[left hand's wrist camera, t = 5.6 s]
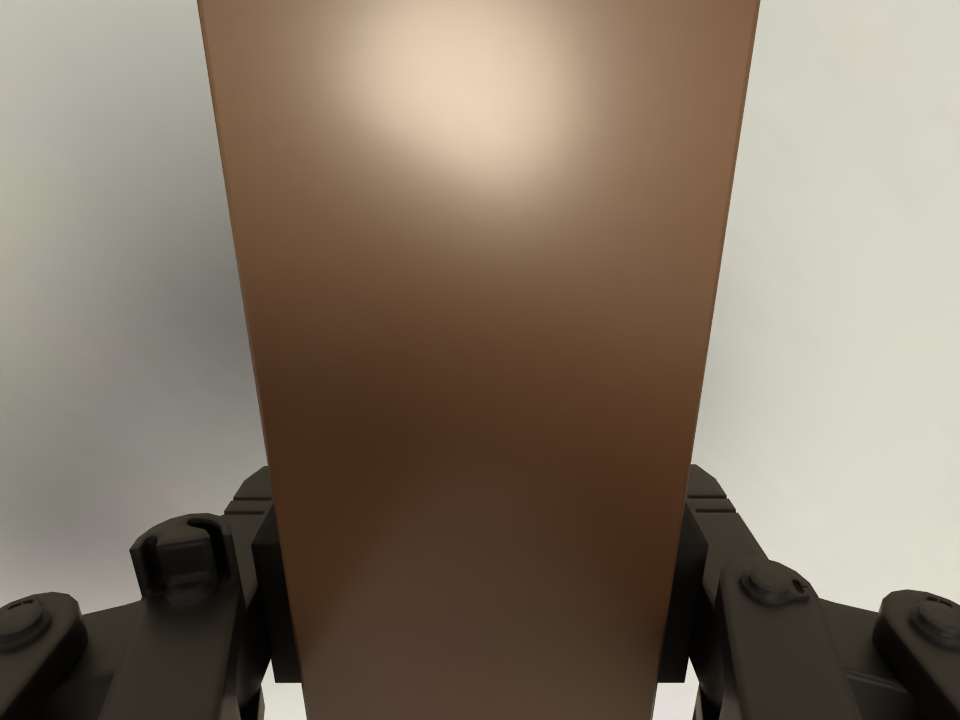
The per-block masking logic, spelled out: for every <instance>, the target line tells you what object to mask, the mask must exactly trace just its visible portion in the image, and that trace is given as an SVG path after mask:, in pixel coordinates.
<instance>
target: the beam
mask: <svg viewBox="0 0 960 720" xmlns="http://www.w3.org/2000/svg"><path fill="white" fill-rule="evenodd" d="M197 4H198V11H199V17H200V24H201V30H202V37H203V43H204V50H205V56H206V63H207V69H208V76H209V83H210V89H211V96H212V102H213V109H214V115H215V122H216V128H217V135H218V141H219V148H220V154H221V161H222V168H223V174H224V181H225V187H226V194H227V200H228V207H229V213H230V220H231V226H232V233H233V239H234V246H235V252H236V259H237V266H238V272H239V279H240V285H241V292H242V298H243V305H244V311H245V318H246V324H247V331H248V337H249V344H250V351H251V357H252V364H253V370H254V377H255V383H256V390H257V396H258V403H259V409H260V416H261V422H262V429H263V436H264V442H265V449H266V455H267V462H268V468H269V475H270V481H271V488H272V494H273V501H274V507H275V514H276V520H277V527H278V534H279V540H280V547H281V553H282V560H283V566H284V573H285V579H286V586H287V592H288V599H289V605H290V612H291V619H292V625H293V632H294V638H295V645H296V651H297V658H298V664H299V671H300V677H301V684H302V690H303V697H304V703H305V710H306V717H307V720H652V717H653V711H654V704H655V697H656V691H657V684H658V677H659V671H660V664H661V657H662V651H663V644H664V638H665V631H666V624H667V618H668V611H669V604H670V598H671V591H672V584H673V578H674V571H675V564H676V558H677V551H678V544H679V538H680V531H681V525H682V518H683V511H684V505H685V498H686V491H687V485H688V478H689V471H690V465H691V458H692V451H693V445H694V438H695V431H696V425H697V418H698V412H699V405H700V398H701V392H702V385H703V378H704V372H705V365H706V358H707V352H708V345H709V338H710V332H711V325H712V318H713V312H714V305H715V298H716V292H717V285H718V279H719V272H720V265H721V259H722V252H723V245H724V239H725V232H726V225H727V219H728V212H729V205H730V199H731V192H732V185H733V179H734V172H735V166H736V159H737V152H738V146H739V139H740V132H741V126H742V119H743V112H744V106H745V99H746V92H747V86H748V79H749V72H750V66H751V59H752V52H753V46H754V39H755V33H756V26H757V19H758V13H759V6H760V0H197Z"/></svg>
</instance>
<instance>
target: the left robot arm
mask: <svg viewBox="0 0 960 720" xmlns="http://www.w3.org/2000/svg"><path fill="white" fill-rule="evenodd" d="M130 554H131V558H132V561H133V565H134V569H135V572H136V576H137V580H138V583H139V587H140V591H141V594H142V598H141V600H140V601H137V602H134V603H130V604H127V605H123V606H119V607H115V608H110V609H106V610H102V611H97V612H93V613H89V614H84V615H82V614H81V611H80V608H79V605H78V602H77V601H76V600H75V599H74V598H73V597H71V596H70V595H69V594H64V593H57V592H49V593H42V594H34V595H31V596H28V597H25V598H22V599H19V600H16V601H13V602H11V603H9V604H7V605H5V606H3V607H1V608H0V720H264V710H265V705H264V698H263V692H262V687H261V682H262V680H263V677H264V675H265V672H266V670H267V667H268V664H269V662H270V659H271V661H272V667H273V673H274V678H275V683H301V677H300V671H299V664H298V658H297V651H296V645H295V638H294V632H293V625H292V619H291V612H290V605H289V599H288V592H287V586H286V579H285V573H284V566H283V560H282V553H281V547H280V540H279V534H278V527H277V520H276V514H275V507H274V501H273V494H272V488H271V481H270V475H269V468H268V466H264V467H262V468H261V469H260V470H258V471H257V472H256V473H254V474H253V475H251V476H250V477H249V478H247V479H246V480H245V481H244V482H243V484H242V485H241V487H240V488H239V490H238V491H237V493H236V494H235V496H234V497H233V501H231V502H230V503H229V505H228V506H227V508H226V509H225V511H224V515H222V516H217V515H213V514H209V513H199V514H188V515H183V516H179V517H175V518H171V519H169V520H167V521H165V522H162V523H160V524H158V525H156V526H154V527H152V528H151V529H149V530H148V531H147V532H145V533H144V534H143V535H141V536H140V537H138V539H137V540H136V541H135V543H134V544H133V546H132V547H131V548H130ZM689 657H690V660H691V662H692V665H693V668H694V670H695V673H696V675H697V678H698V680H699V687H698V692H697V698H696V703H695V708H694V713H693V719H692V720H960V605H958V604H956V603H955V602H953V601H951V600H949V599H946V598H943V597H940V596H937V595H934V594H931V593H928V592H922V591H915V590H908V589H907V590H900V591H894V592H891V593H890V594H888V595H887V596H886V597H885V598H884V599H883V600H882V603H881V606H880V609H879V612H873V611H869V610H864V609H860V608H856V607H851V606H847V605H843V604H838V603H834V602H831V601H828V600H824V599H821V598H819V597H818V595H817V594H816V592H815V590H814V589H813V587H812V586H811V584H810V583H809V582H808V581H807V580H806V579H804V578H803V577H802V576H801V575H800V574H798V573H797V572H796V571H794V570H792V569H790V568H788V567H786V566H784V565H782V564H781V563H779V562H775V561H771V560H769V559H768V558H767V556H766V554H765V553H764V551H763V550H762V548H761V547H760V545H759V544H758V542H757V541H756V539H755V538H754V536H753V535H752V533H751V532H750V530H749V529H748V527H747V526H746V524H745V523H744V521H743V520H742V518H741V517H740V515H739V514H738V513H736V509H735V507H734V506H733V504H732V503H731V501H730V500H729V499H727V495H726V494H725V492H724V491H723V489H722V488H721V486H720V485H719V483H718V482H717V480H716V479H715V478H714V477H712V476H711V475H710V474H708V473H707V472H706V471H704V470H703V469H701V468H700V467H699V466H697V465H696V464H691V465H690V471H689V478H688V485H687V491H686V498H685V505H684V511H683V518H682V525H681V531H680V538H679V544H678V551H677V558H676V564H675V571H674V578H673V584H672V591H671V598H670V604H669V611H668V618H667V624H666V631H665V638H664V644H663V651H662V657H661V664H660V671H659V677H658V683H684V682H685V676H686V671H687V665H688V659H689Z"/></svg>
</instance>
